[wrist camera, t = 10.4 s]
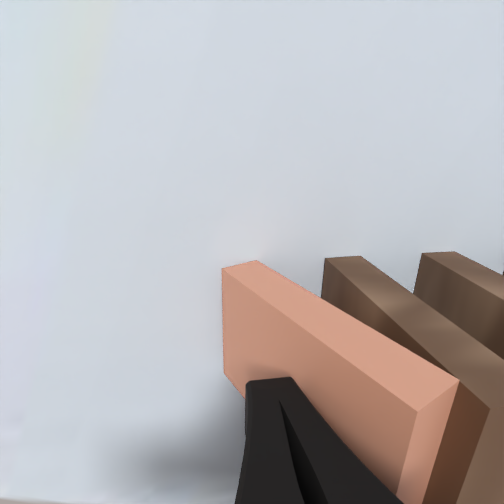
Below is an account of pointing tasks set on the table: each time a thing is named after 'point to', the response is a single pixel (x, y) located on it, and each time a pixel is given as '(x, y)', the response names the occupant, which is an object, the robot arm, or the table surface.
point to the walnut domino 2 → (464, 295)
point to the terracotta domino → (339, 373)
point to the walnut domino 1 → (446, 358)
